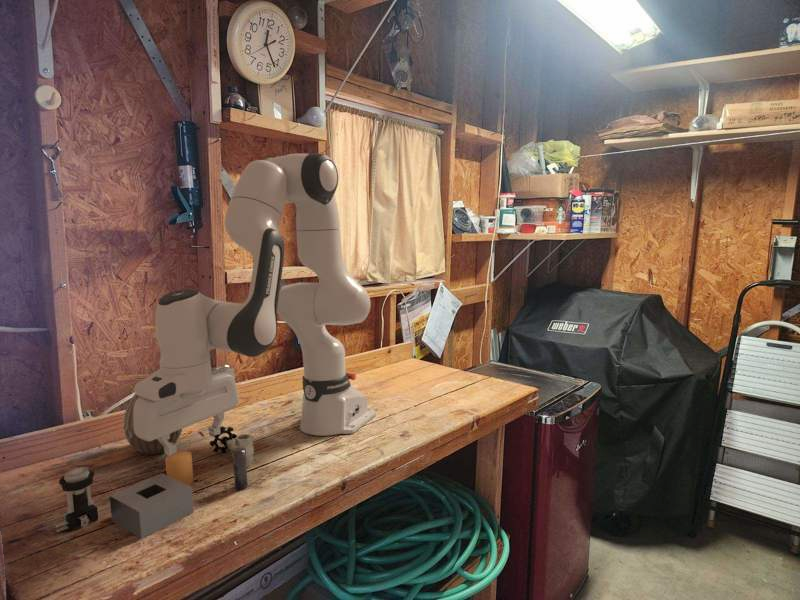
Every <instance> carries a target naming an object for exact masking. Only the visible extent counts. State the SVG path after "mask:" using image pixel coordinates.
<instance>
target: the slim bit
mask: <svg viewBox="0 0 800 600" xmlns="http://www.w3.org/2000/svg"><path fill="white" fill-rule="evenodd" d="M231 453H232V466H233V469H232V470H233V485H234V490H235V491H242V490H246V489H247V488H248V486H249V484H248V481H249V480H248V467H247V463H246V449H245V448H236V449H234V450H233V451H232V452H231Z"/></svg>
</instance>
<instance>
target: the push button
mask: <svg viewBox="0 0 800 600" xmlns="http://www.w3.org/2000/svg"><path fill="white" fill-rule="evenodd" d="M94 477H95V471H93V470H90V469H89V468H88V467H85V466H84V467H83V466H80V467H79V466H78V467H75V468H72V469H69V470H67V471H66V472H65V473H64V476H62V477H60V478H59V480H58V483H59V485H60V486H61V489H62V491H64V492H66V500H67V510H66V513H65V514H64V516H63V517H64V521H62V522H61V523H58V524H55V527H56V528H58V529H56V530H55V531H56V533H59V532H61V531H64V530H69V531H73V530H76V529H78V528H81V527H85V526H87V525H88V524H89V523H92V522H93V523H94V522H97V521H99V509H98V506H96V505H95V504H94V501H93V500H92V494H91V493H92V492H91V485H92V484H93V483H94ZM59 527H60V528H59Z"/></svg>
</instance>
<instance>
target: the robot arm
mask: <svg viewBox="0 0 800 600" xmlns="http://www.w3.org/2000/svg"><path fill="white" fill-rule="evenodd" d="M239 176H240V177H239V178H238V180H237V183H236V185H235V187H234V188H233V191H232V194H231V197H230V201H229V203H228V205H227V209H226V212H225V217H224V228H225V230H226V233H227V234H228V236H229V238H230V239H231V240H232V241H233V242H234V243H235V244H236V245H238V247H240V248H242V249H243V250H246V251H247V252H249V253H250V255H251V257H252V260H253V265H252V272H251V278H250V283H249V291H248V295H247V298H246V300H245V301H244V302H243V303H241V302H240V303H239V302H238V303H237V302H230V301H222V300H218V299H214V298H211V297H208V296H206V295H204V294H202V293H201V292H200V291H199V290H197V289H193V288H192V289H191V288H187V289H185V288H184V289H181V290H175V291H171V292H169V293H166V294H165V295H163V296H162V297H160V298H158V299H159V300H158V301H157V304H156V308H155V334H156V342H157V345H158V347H159V350H160V358H159V369H157V370H156V371H154V372H152V374H149V376H147V377H145V378H143V379H141V380H142V381H141V380H140V381H139V382H137V383H136V384H134V387H133V390H134V391H133V392H134V395H135V394H136V395H138V396H140V397H139V398H138V399H137V400H136V401H135V404H134V408H133V423H134V432H135V435H136V436H137V437H139V438H140V439H142V440H145V441H148V442H149V441H152V440H155V439H157V440H158V441H159V442H160V443H161V444H162V445H163V446H164V452H163V453H164V454H165V456H166V457H167V456H171V455H173V454H175V453H177V452H178V450H177V449H178V447H177V444H176V443H174V444H173V443H169V442H168V441H167V439H170V433H172V432H175V431H177V430H180V429H182V430H183V429H185V428H187V427H189V426H192V425H195V424H197V423H200V422H203V421H205V420H208V419H210V418H213V419H212V424H211V425H210V426H208V427H207V429H208V434H209V436H210V437H212V438H215V436H217V435H219V434H220V427H221V426H222V423H223V421H224V419H225V412H228V411H230V410H231V411H232V410H233V409H235V408H237V406H239V402H240V397H239V391H238V387H237V383H236V379H235V377H236V376H235V369H234V368H233V367H232V366H231V365H228V364H222V365H220V366H216V367H212V363H211V354H210V352H211V350H214V349H215V350H221V351H226V352H232V353H233V352H234V353H235V354H238V355H242V356H246V357H250V358H256V357H258V356H261V355H262V354H264V353H265V352H267V350H269V349H270V348H271V346H272V345H273V344H274V342H275V341H276V338H277V335H278V325H279V324H278V316H279V318H280V319H281V320H282V321H284V322H285V323H286V324H287V325H288V326H289V327H290V328H291V330H292V331H293V332H294V334H295V335H296V337H297V339H298V342H299V345H300V347H301V353H302V354H301V355H302V362H303V376H302V382H301V383H302V391H303V395H302V407H301V408H302V409H301V415H300V417H299V420H300V424H299V429H300V431H301V432H303V433H305V434H308V435H313V436H322V437H323V436H333V435H341V434H342V435H343V434H345V435H347V434H354V433H355V432H356V431H358V430H359V429H361V428H362V427H363V426H364V425H365V424H367V423H368V422H369V421H371V420H372V419H373V418H374V417H375V416H377V412H376V410H374V409H373V408H371V407H368V399H367V397H366V395H365V394H364V392H362V391H360V390H358V389H357V388H356V387H354V386H353V385H351V382H350V380H352V381H355V380H356V378H357V373H356V372H351V371H350V372H349V371H348V373H347V371H346V349H345V346H344V345H343V343H342V341H341V340H339V339H338V338H336V337H334V336H333V335H331V334H330V332H329V331H328V330H327V328H326V326H327V325H331V326H349V325H355V324H361V323H363V322H364V321H365V320H366V319H367V317H368V316H369V313H370V311H371V306H372V304H371V298H370V295H369V293H368V291H367V289H365V287H364V286H363V285H361V284H360V283H359V282H357V281H356V280H355V278H353V276H352V275H351V272H349V270H348V268H347V266H346V263H345V261H344V257H343V249H342V248H343V247H342V241H341V239H342V238H341V225H340V222H341V221H340V213H339V208H338V203H337V198H336V196H335V194H336V191H337V188H338V184H339V172H338V168H337V166H336V164H335V162H334V161H333V159H331V157H330V156H329V155H326V154H323V153H319V152H310V153H289V154H287V155H286V154H285V155H280V156H276V157H267V158H264V159H258V160H253V161H251V162H249V163H248V164H247V165H246V166H245V168H244V170H242V173H241V175H239ZM285 203H287V204H289V203H290V204H293V203H294V205H295V207H296V215H295V225H296V226H295V229H296V231H295V232H296V241H297V242H296V245H297V257H298V260H299V262H300V263H301V264H302V265H303V266H304V267H305V268H307V269H309V270H311V271H313V273H315V275H316V276H317V278H318V280H319V282H296V283H291V284H285V285H283V286H282V287H281V284H282V275H283V268H284V261H285V260H284V259H285V241H284V238H283V236H282V234H281V233H280V222H281V221H282V220H281V219H282V216H283V213H284V208H285ZM325 325H326V326H325Z"/></svg>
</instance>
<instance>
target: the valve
mask: <svg viewBox="0 0 800 600" xmlns="http://www.w3.org/2000/svg"><path fill="white" fill-rule="evenodd" d="M232 432H234V427H232V426H228V427H227V428H226V427H225V426H223V425H221V426H220V434H219V435H217V436H215V437H214V439H213V440H210V441H209V446H211V447H214V448H213V449H212V452H213V453H215V454H218V453H219V452H220V453H222V454H227V452H228V449H230V452H231V453H232V451H233V450H234V449H236V448H245V449H246V463H247V468H249V467H251V466H252V465H254V463H255V457H254V454H255V447H254V444H253V443H254V439H253V438H254V437H253V435H252V434H249V433H244V434H243V433H242V434H238V435H237V434H236V433H232ZM223 434H227V435H228V436H224V435H223ZM221 435H222V436H221ZM220 436H221V437H220ZM233 439H234V440H233ZM218 441H219V443H220V444H221V445H222V446H220V445H219V444H218Z"/></svg>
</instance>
